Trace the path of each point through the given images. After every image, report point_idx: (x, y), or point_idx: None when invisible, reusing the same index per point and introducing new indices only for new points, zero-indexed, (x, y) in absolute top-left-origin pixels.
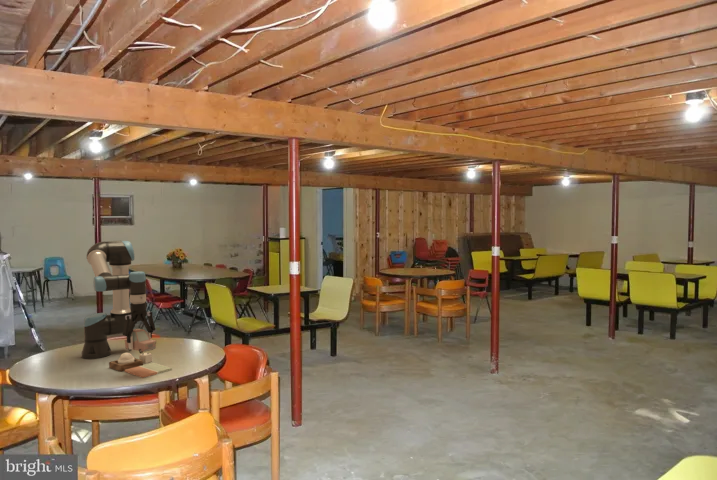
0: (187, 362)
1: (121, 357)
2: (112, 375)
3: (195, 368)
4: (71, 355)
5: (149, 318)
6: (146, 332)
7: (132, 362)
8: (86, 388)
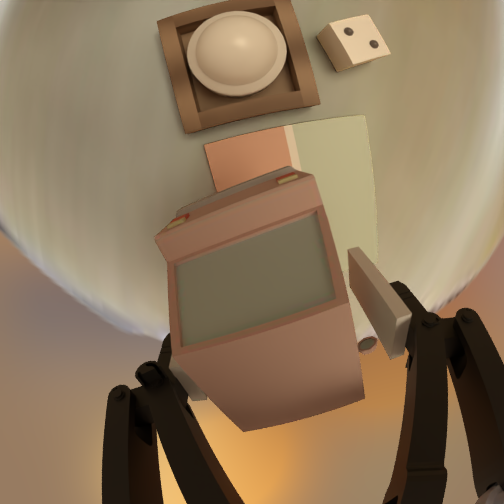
0: (453, 198)
1: (201, 61)
2: (144, 173)
3: (424, 288)
4: None
5: (482, 463)
6: (396, 323)
7: (258, 102)
8: (66, 282)
